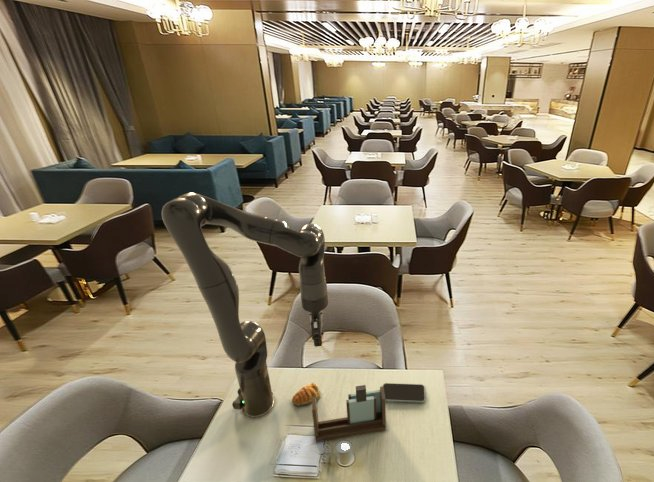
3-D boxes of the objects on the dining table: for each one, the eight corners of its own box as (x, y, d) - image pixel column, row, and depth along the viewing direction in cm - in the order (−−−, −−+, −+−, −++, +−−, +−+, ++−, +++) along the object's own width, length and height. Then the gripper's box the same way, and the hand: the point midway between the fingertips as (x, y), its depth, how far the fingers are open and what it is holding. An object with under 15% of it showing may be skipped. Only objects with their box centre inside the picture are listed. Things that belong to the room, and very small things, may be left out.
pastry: (297, 411, 118) (296, 403, 117) (289, 398, 123) (288, 390, 122) (322, 397, 124) (321, 389, 122) (313, 385, 129) (312, 377, 127)
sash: (347, 421, 113) (345, 387, 107) (375, 416, 115) (375, 383, 109) (348, 426, 112) (345, 392, 105) (376, 421, 113) (376, 387, 107)
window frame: (315, 425, 114) (312, 395, 108) (382, 414, 118) (382, 385, 112) (315, 442, 109) (311, 411, 103) (385, 430, 113) (385, 400, 107)
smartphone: (425, 401, 122) (381, 399, 122) (424, 403, 122) (381, 401, 122) (424, 384, 129) (383, 382, 129) (424, 386, 129) (383, 384, 129)
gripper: (301, 280, 107) (306, 323, 114) (299, 307, 94) (304, 354, 101) (326, 278, 108) (330, 320, 115) (327, 304, 96) (331, 350, 103)
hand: (318, 336), depth 108 cm, fingers open, 8 cm apart
